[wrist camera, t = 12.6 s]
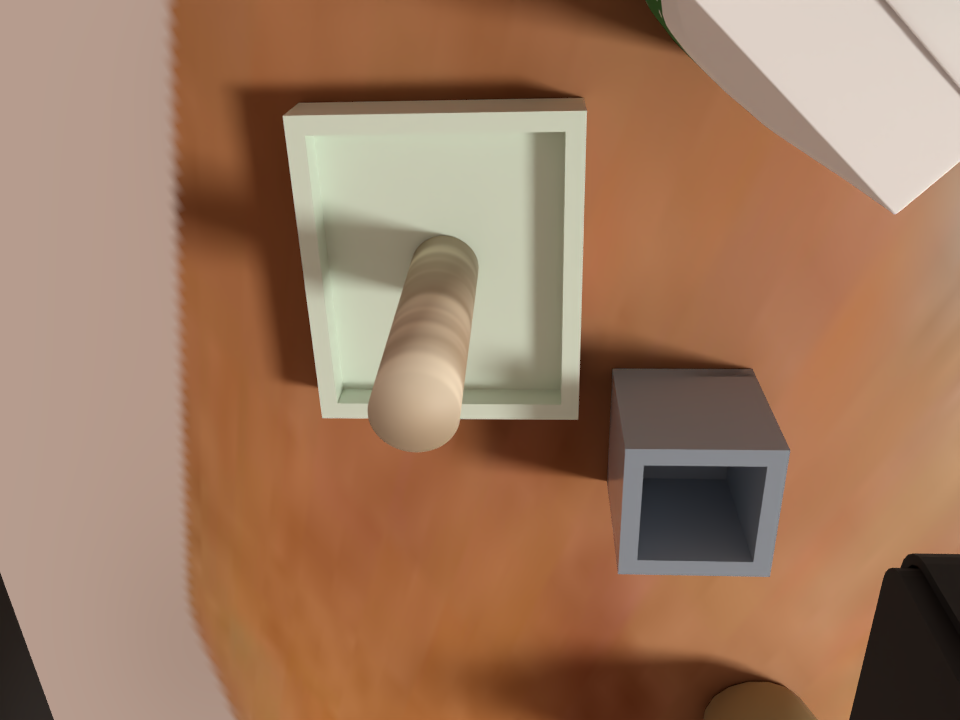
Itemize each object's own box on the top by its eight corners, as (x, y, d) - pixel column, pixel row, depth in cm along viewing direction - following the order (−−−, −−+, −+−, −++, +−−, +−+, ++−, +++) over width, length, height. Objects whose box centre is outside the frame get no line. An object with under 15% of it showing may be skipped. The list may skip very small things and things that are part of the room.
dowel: (410, 234, 38) (365, 372, 27) (479, 236, 38) (460, 375, 27) (411, 296, 39) (369, 450, 29) (478, 299, 39) (460, 454, 29)
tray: (298, 102, 37) (282, 115, 34) (583, 97, 36) (586, 110, 34) (333, 390, 43) (322, 418, 41) (576, 392, 42) (578, 419, 40)
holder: (612, 368, 42) (625, 448, 35) (752, 368, 41) (790, 450, 35) (607, 481, 45) (617, 573, 38) (737, 483, 44) (769, 576, 38)
